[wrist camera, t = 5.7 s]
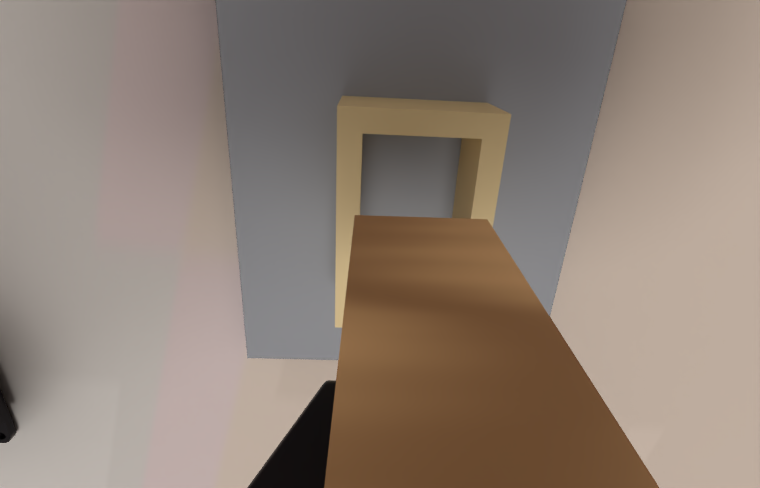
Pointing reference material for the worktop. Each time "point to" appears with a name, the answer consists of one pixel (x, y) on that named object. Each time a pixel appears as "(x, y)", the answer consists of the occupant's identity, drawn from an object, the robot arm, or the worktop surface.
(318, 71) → the grey board with socket
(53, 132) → the worktop surface
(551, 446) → the wood topped block
